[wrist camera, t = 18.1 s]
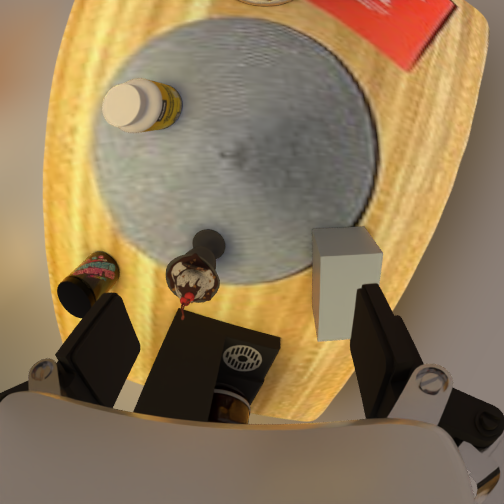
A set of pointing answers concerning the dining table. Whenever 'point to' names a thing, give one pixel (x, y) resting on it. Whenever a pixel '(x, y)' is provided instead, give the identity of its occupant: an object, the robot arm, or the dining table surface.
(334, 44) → the dining table surface
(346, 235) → the grey rectangular block
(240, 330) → the coffee maker
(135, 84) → the pill bottle
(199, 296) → the sundae
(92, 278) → the supplement container
